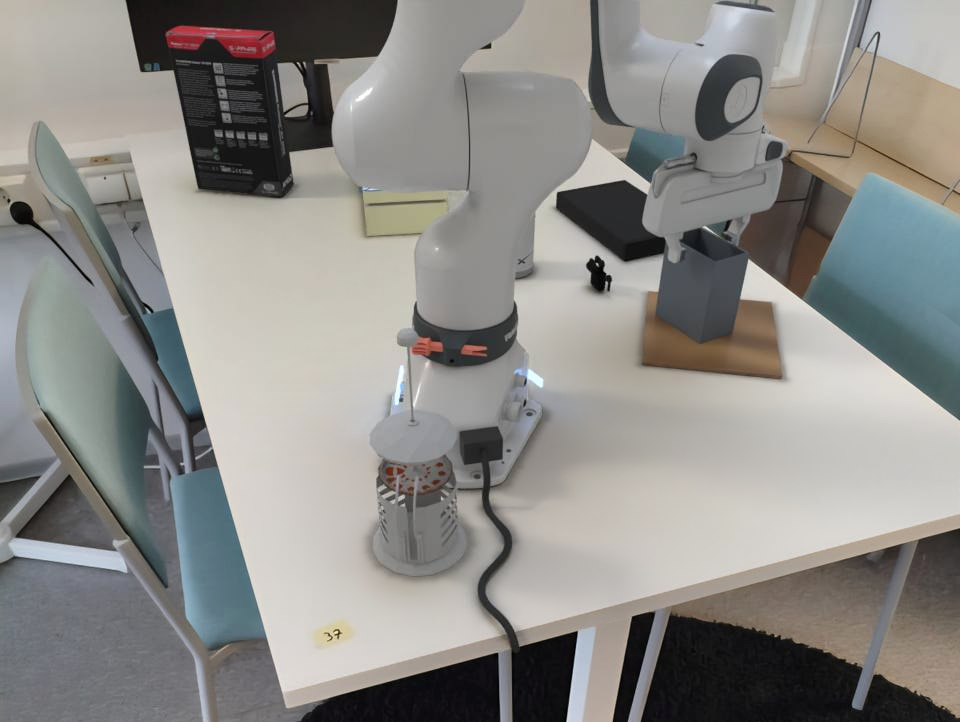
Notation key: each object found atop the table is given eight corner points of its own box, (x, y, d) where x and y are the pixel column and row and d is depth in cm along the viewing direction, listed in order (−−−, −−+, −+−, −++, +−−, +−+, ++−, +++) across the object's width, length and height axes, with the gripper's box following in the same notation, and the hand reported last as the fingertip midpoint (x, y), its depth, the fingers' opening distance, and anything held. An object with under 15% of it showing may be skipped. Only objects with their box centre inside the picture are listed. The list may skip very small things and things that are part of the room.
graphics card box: (297, 185, 162) (275, 26, 145) (284, 199, 157) (260, 36, 140) (211, 179, 165) (180, 22, 147) (196, 193, 159) (161, 32, 142)
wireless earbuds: (612, 298, 129) (616, 267, 125) (597, 301, 128) (600, 269, 125) (591, 277, 134) (594, 247, 131) (577, 280, 133) (579, 249, 130)
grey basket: (750, 252, 112) (700, 226, 119) (715, 263, 110) (666, 235, 116) (732, 333, 120) (687, 303, 126) (699, 344, 118) (654, 314, 124)
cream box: (451, 231, 147) (450, 171, 140) (363, 236, 145) (358, 175, 138) (426, 141, 181) (424, 89, 174) (355, 144, 179) (350, 92, 173)
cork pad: (781, 379, 112) (782, 375, 112) (642, 364, 115) (642, 361, 114) (770, 304, 127) (771, 301, 127) (647, 293, 130) (648, 290, 129)
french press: (471, 511, 92) (470, 303, 76) (460, 593, 83) (456, 376, 67) (380, 506, 93) (360, 299, 77) (360, 586, 84) (332, 370, 68)
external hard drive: (624, 195, 159) (625, 179, 157) (698, 245, 142) (701, 228, 141) (555, 208, 154) (556, 192, 152) (624, 261, 138) (626, 244, 136)
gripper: (673, 169, 100) (657, 279, 109) (798, 141, 108) (774, 246, 117) (638, 154, 104) (626, 261, 113) (761, 128, 113) (741, 230, 121)
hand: (703, 253), depth 115 cm, fingers open, 8 cm apart
